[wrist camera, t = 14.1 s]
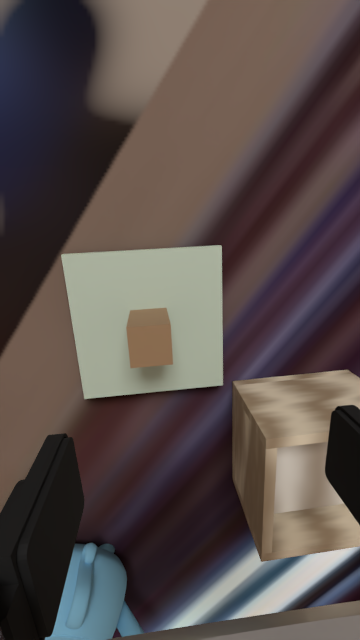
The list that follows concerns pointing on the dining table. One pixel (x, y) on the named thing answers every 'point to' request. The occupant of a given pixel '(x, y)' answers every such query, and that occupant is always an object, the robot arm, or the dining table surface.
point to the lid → (146, 319)
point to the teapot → (94, 597)
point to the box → (290, 462)
